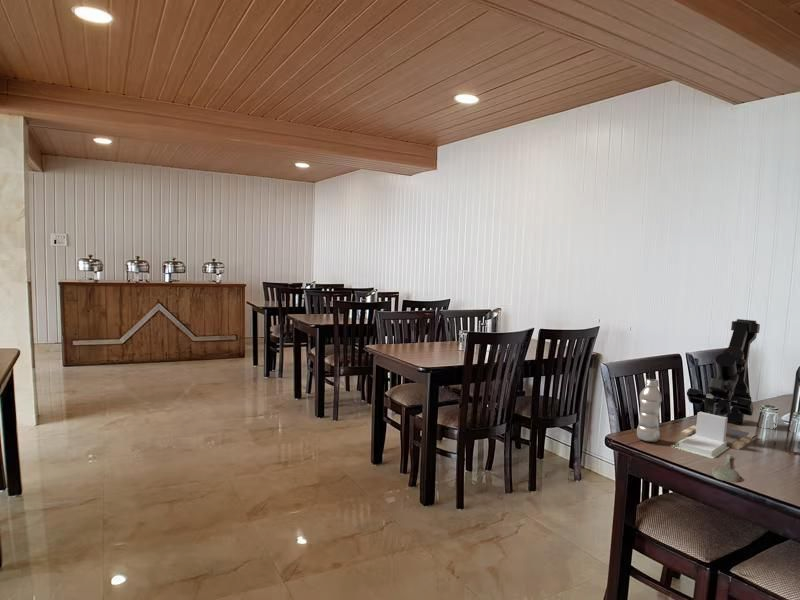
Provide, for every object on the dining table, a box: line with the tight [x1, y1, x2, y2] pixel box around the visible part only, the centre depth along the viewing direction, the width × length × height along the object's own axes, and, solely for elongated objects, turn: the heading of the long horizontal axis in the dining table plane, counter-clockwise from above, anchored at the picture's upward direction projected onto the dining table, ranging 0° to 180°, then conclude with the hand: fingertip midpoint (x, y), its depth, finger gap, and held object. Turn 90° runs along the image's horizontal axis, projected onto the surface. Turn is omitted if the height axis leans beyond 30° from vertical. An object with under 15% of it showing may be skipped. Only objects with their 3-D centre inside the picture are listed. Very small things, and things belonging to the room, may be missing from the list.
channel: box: [680, 424, 752, 450], centre depth 172 cm, size 14×17×1 cm
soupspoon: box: [711, 454, 741, 483], centre depth 144 cm, size 22×3×7 cm
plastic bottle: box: [636, 378, 663, 443], centre depth 165 cm, size 6×7×20 cm
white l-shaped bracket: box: [679, 411, 728, 456], centre depth 162 cm, size 16×9×9 cm, turn 133°
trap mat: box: [726, 427, 750, 438], centre depth 181 cm, size 7×16×1 cm, turn 42°
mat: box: [671, 436, 730, 460], centre depth 161 cm, size 16×12×1 cm
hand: (711, 421), depth 167 cm, fingers closed, pressing on white l-shaped bracket
